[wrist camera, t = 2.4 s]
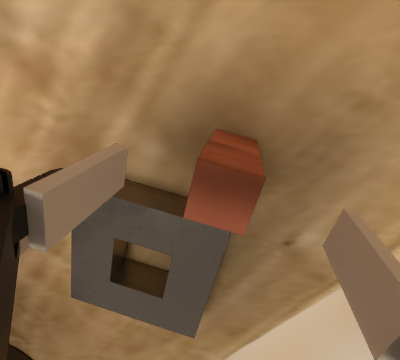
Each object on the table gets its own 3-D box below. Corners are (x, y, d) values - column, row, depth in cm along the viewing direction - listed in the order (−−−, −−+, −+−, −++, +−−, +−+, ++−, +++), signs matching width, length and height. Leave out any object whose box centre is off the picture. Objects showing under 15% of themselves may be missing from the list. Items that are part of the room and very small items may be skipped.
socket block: (199, 309, 32) (194, 338, 28) (90, 273, 33) (71, 297, 30) (233, 210, 26) (231, 232, 22) (95, 170, 27) (71, 184, 23)
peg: (244, 177, 24) (243, 235, 15) (206, 167, 24) (183, 217, 15) (256, 140, 22) (265, 179, 13) (216, 129, 23) (196, 160, 14)
